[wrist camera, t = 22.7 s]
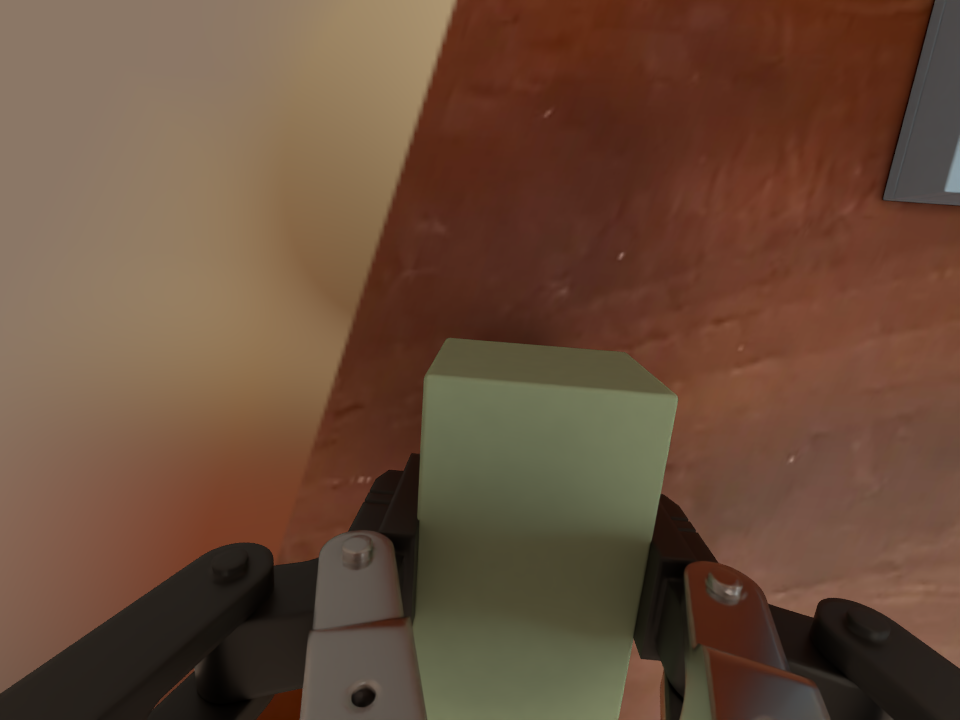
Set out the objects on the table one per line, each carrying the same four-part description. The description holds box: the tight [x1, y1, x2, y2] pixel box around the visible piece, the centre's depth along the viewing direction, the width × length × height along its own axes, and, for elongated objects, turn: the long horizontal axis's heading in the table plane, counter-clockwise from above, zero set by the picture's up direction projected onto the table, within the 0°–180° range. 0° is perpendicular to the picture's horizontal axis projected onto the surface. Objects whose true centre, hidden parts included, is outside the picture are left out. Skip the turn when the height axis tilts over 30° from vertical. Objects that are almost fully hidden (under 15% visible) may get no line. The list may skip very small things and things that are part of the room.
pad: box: [412, 338, 678, 720], centre depth 11 cm, size 4×8×4 cm, turn 176°
